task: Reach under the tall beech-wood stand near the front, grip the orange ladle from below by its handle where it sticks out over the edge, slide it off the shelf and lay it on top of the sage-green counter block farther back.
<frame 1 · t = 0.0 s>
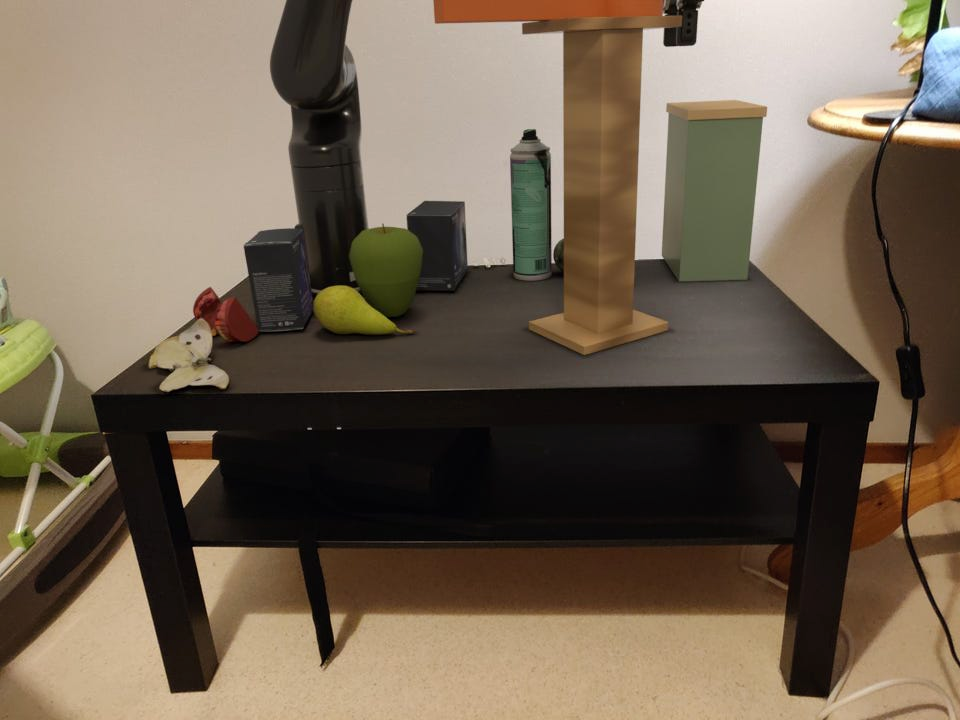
hand: (678, 46, 89), 29 cm above the table, tool pointing down, fingers open, 8 cm apart
miniature set: (467, 259, 110), point 1 cm above the table
small box: (441, 282, 104), on the table
apple: (392, 317, 90), on the table
spray can: (532, 276, 105), on the table
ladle: (602, 19, 71), point 32 cm above the table, touching stand
box: (287, 322, 90), on the table
vegetable: (594, 233, 104), point 5 cm above the table
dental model: (241, 328, 82), point 2 cm above the table
stand: (597, 330, 83), on the table
fruit: (315, 300, 86), point 4 cm above the table
butterfly: (167, 348, 74), point 3 cm above the table, touching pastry
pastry: (153, 348, 82), point 1 cm above the table, touching butterfly
counter: (701, 266, 105), on the table
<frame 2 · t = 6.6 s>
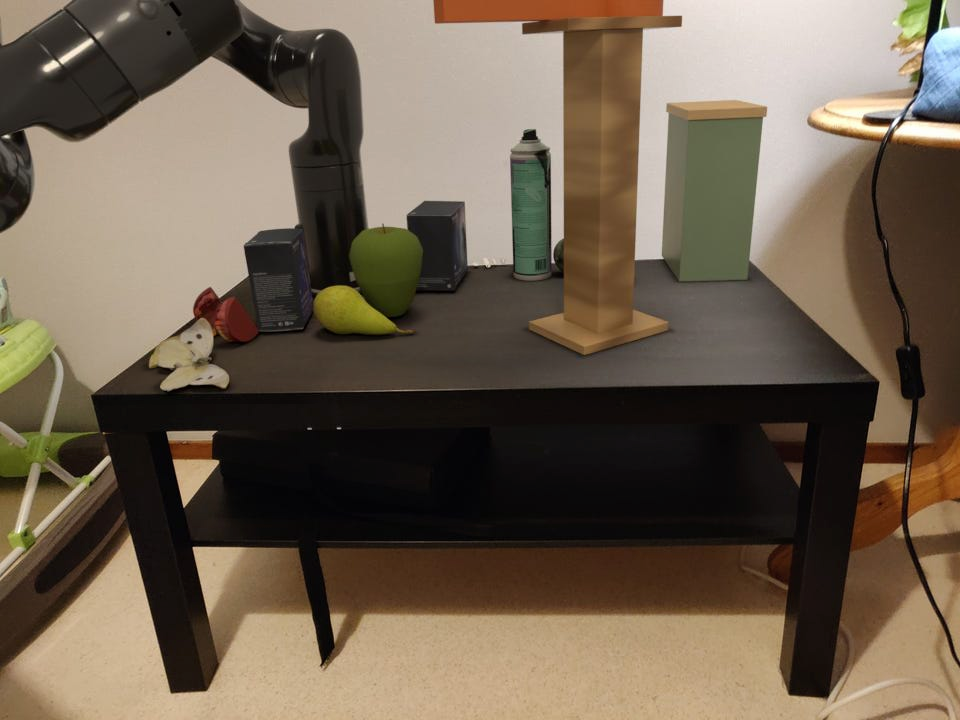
nothing on the table moved.
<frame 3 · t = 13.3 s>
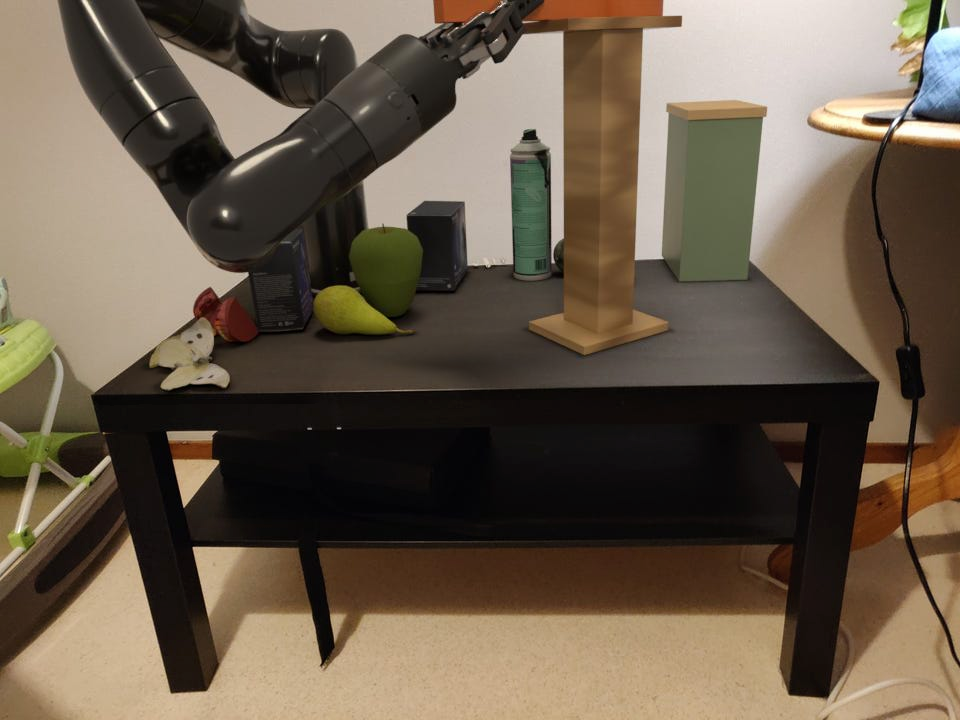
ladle: (602, 19, 71), point 32 cm above the table, touching gripper, stand
everything else where it was.
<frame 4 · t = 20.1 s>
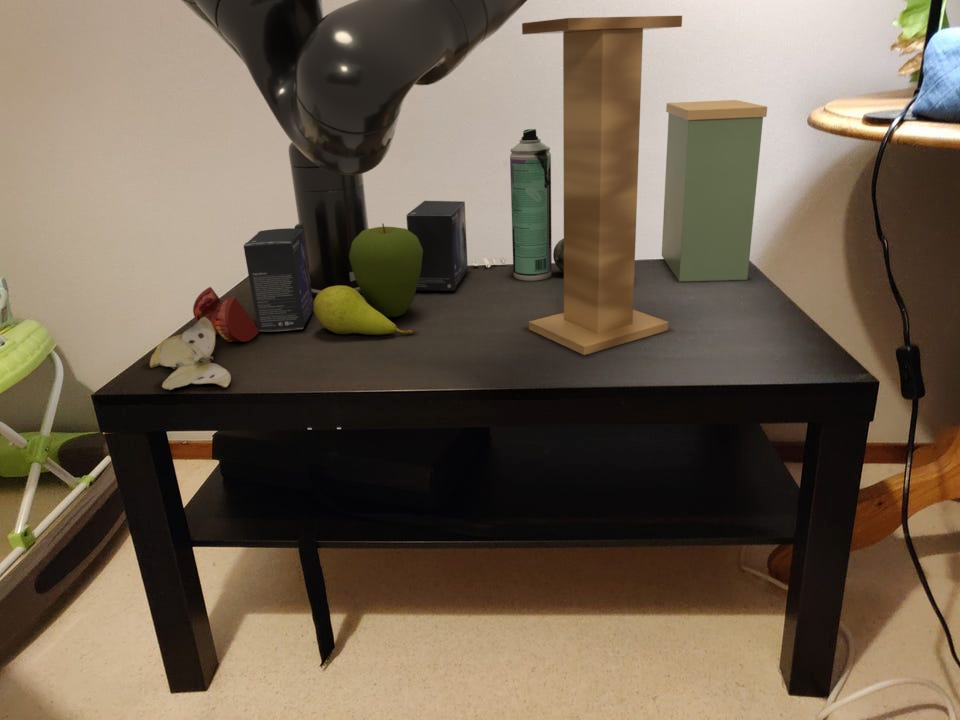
butterfly: (170, 346, 74), point 3 cm above the table
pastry: (154, 347, 82), point 1 cm above the table
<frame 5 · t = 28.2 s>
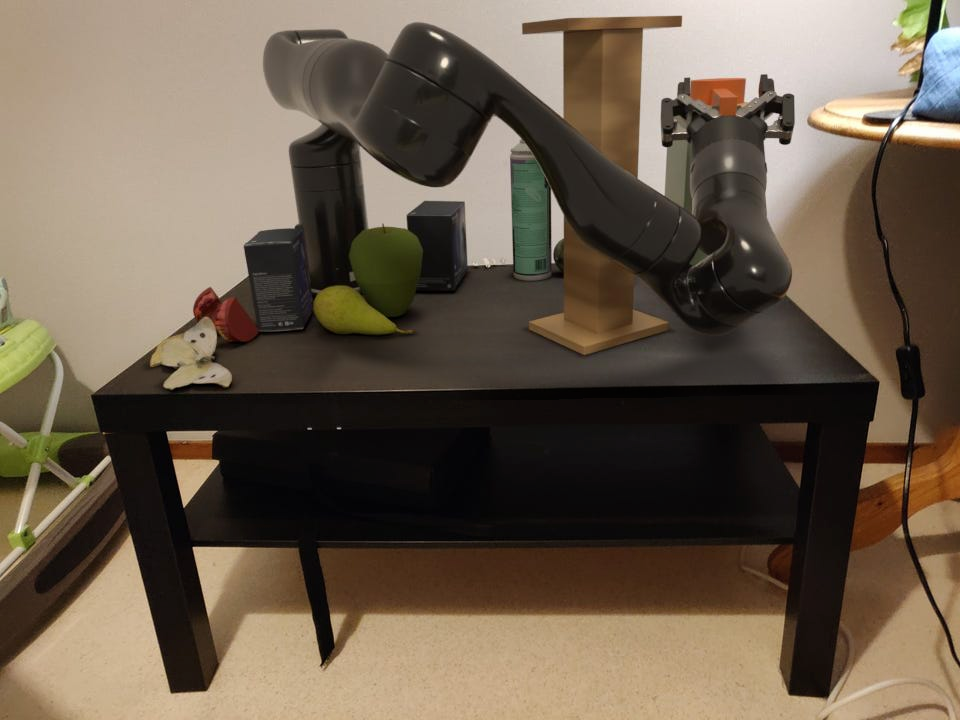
hand: (724, 82, 86), 25 cm above the table, tool pointing upward, fingers open, 8 cm apart
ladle: (717, 104, 96), point 22 cm above the table, touching counter
butterfly: (171, 346, 74), point 3 cm above the table, touching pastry
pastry: (154, 347, 82), point 1 cm above the table, touching butterfly
everything else where it was.
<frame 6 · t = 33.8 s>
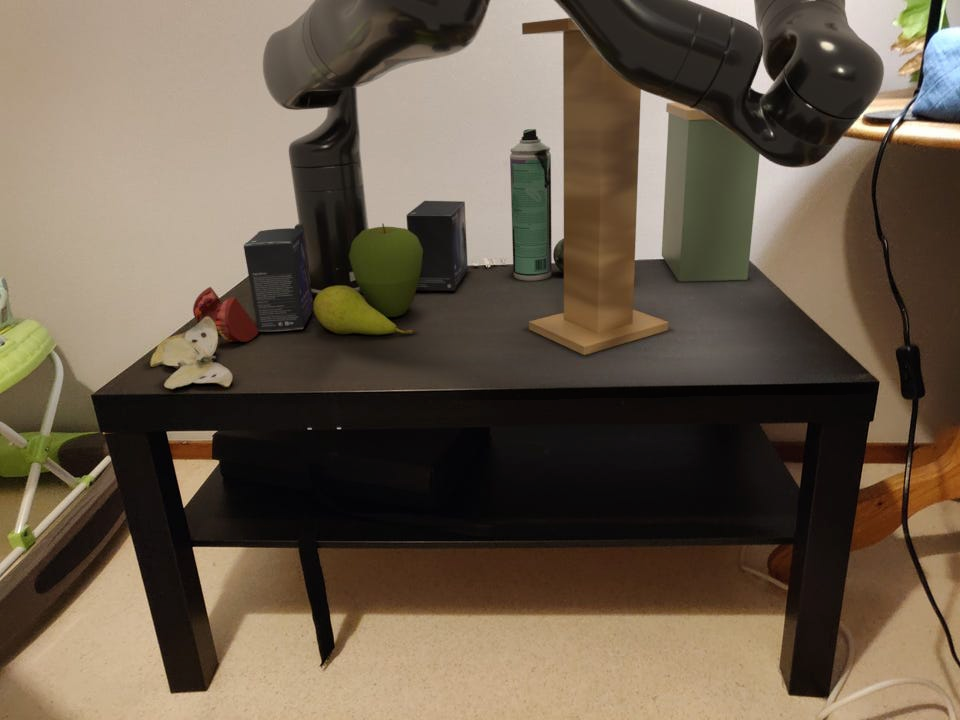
nothing on the table moved.
at the end: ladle inside the target area on the counter (0.9 cm from its centre), point 22.0 cm above the counter's base; the gripper is holding nothing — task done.
